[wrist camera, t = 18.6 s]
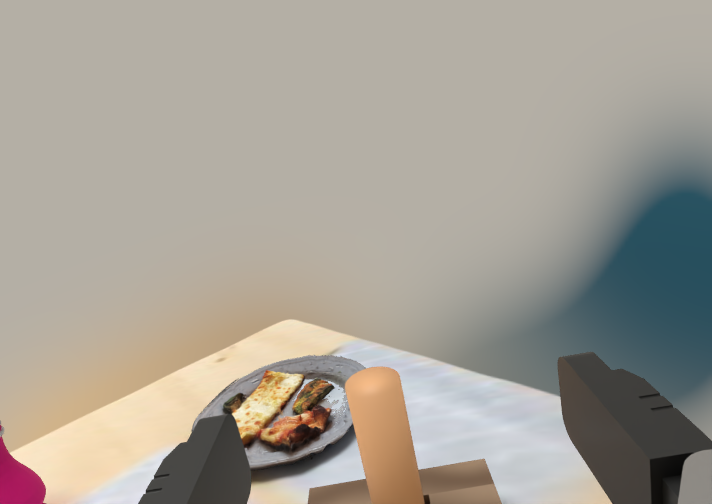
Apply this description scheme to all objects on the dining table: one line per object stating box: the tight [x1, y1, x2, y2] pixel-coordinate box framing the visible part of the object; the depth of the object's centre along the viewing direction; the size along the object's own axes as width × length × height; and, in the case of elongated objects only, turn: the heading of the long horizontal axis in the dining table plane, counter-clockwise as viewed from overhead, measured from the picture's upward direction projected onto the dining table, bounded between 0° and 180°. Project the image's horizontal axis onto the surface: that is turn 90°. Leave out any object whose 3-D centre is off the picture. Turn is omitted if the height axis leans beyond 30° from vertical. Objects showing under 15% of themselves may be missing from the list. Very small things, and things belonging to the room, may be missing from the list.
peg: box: [345, 367, 425, 504], centre depth 36 cm, size 8×8×18 cm
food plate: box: [192, 355, 366, 471], centre depth 64 cm, size 25×23×4 cm
